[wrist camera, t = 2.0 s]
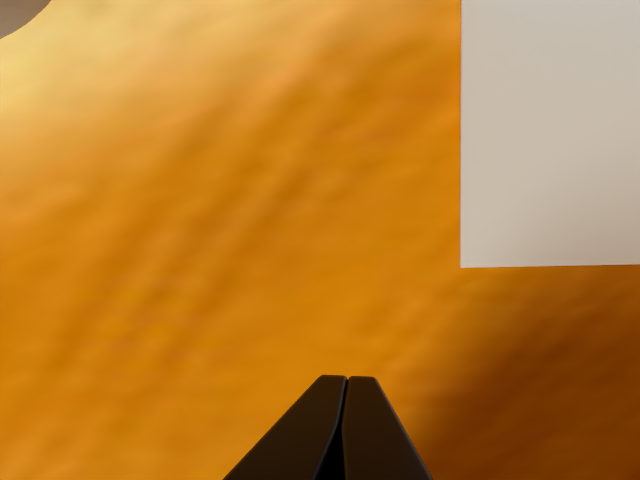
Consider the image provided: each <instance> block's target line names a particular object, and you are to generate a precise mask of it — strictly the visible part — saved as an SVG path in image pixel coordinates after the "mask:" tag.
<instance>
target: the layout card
mask: <svg viewBox="0 0 640 480" xmlns="http://www.w3.org/2000/svg"><path fill="white" fill-rule="evenodd" d="M631 264H640V0H461V96H460V267H461V268H471V267H524V266H578V265H631Z"/></svg>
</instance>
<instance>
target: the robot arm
mask: <svg viewBox="0 0 640 480" xmlns="http://www.w3.org/2000/svg"><path fill="white" fill-rule="evenodd" d="M223 480H433V478H432V477H431V475H430V473H429V471H428V470H427V468H426V466H425V464H424V462H423V461H422V459H421V457H420V455H419V454H418V452H417V450H416V448H415V447H414V445H413V443H412V441H411V439H410V438H409V436H408V434H407V432H406V431H405V429H404V427H403V425H402V423H401V422H400V420H399V418H398V416H397V415H396V413H395V411H394V409H393V408H392V406H391V404H390V402H389V400H388V399H387V397H386V395H385V393H384V392H383V390H382V388H381V386H380V384H379V383H378V381H377V380H376V378H374V377H367V376H351V377H350V378H349V379H347V377H345V376H342V375H321V376H320V377H318V379H317V380H316V381H315V382H314V383H313V384H312V385H311V386H310V387H309V388H308V389H307V390H306V391H305V392H304V393H303V395H302V396H301V397H300V398H299V399H298V400H297V401H296V402H295V403H294V404H293V405H292V406H291V407H290V408H289V409H288V410H287V412H286V413H285V414H284V415H283V416H282V417H281V418H280V419H279V420H278V421H277V422H276V423H275V424H274V425H273V426H272V428H271V429H270V430H269V431H268V432H267V433H266V434H265V435H264V436H263V437H262V438H261V439H260V440H259V441H258V442H257V443H256V445H255V446H254V447H253V448H252V449H251V450H250V451H249V452H248V453H247V454H246V455H245V456H244V457H243V458H242V459H241V461H240V462H239V463H238V464H237V465H236V466H235V467H234V468H233V469H232V470H231V471H230V472H229V473H228V474H227V475H226V476H225V478H224V479H223Z"/></svg>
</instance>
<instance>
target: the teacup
mask: <svg viewBox="0 0 640 480" xmlns="http://www.w3.org/2000/svg"><path fill="white" fill-rule="evenodd" d="M50 1H51V0H0V39H1V38H3V37H5V36H7V35H9V34H11V33H13V32H14V31H16V30H18V29H19V28H21V27H22V26H24V25H25V24H26V23H28V22H29V21H31V20H32V19H33V18H34V17H35V16H36V15H37V14H38V13H40V12H41V11H42V10H43V9H44V8H45V7H46V6H47V5H48V3H49V2H50Z"/></svg>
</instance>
